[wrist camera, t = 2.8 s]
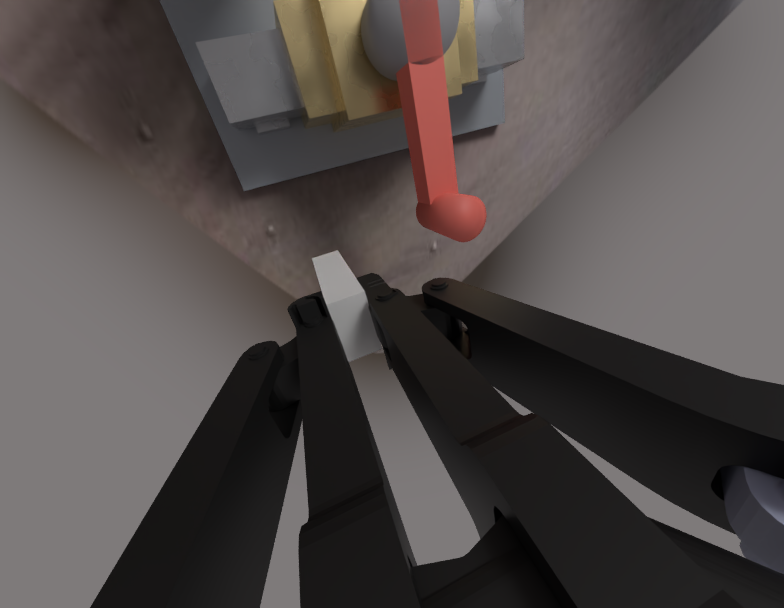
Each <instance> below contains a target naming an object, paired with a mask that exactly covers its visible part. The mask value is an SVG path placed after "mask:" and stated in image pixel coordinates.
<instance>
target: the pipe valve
mask: <svg viewBox="0 0 784 608" xmlns="http://www.w3.org/2000/svg"><path fill="white" fill-rule="evenodd" d="M366 1H367V0H274V1H273V4H274V15H275V26H276V29H271V30H265V31H259V32H254V33H248V34H242V35H236V36H230V37H224V38H218V39H212V40H206V41H200V42H195V43H196V45H197V47H198V50H199V52H200V55H201V57H202V59H203V62H204V64H205V66H206V69H207V71H208V74H209V76H210V78H211V81H212V83H213V85H214V88H215V90H216V92H217V95H218V97H219V100H220V102H221V104H222V107H223V109H224V111H225V114H226V116H227V119H228V121H229V123H230V124H231V125H232V126H233V127H235V128H236V129H237V130H238V131H241V130H245V129H250V128H254V127H256V129H257V131H258V133H259V135H263V134H267V133H271V132H276V131H280V130H284V129H289V128H290V123H289V120H290V119H294V118H298V117H301V118H302V121H303V124H304V127H305V129H308V128H313V127H317V126H321V125H325V124H330V123H331V124H332V127H333V131H334V133H335V132H339V131H343V130H348V129H352V128H356V127H360V126H364V125H368V124H372V123H377V122H381V121H385V120H389V119H393V118H397V117H402V116H403V111H402V106H401V100H400V94H399V88H398V82H397V81H394V80H391V79H388V78H386V77H385V76H383V75H382V74H380V73H379V72H378V71H377V70H376V69H375V67H374V66H373V65H372V63H371V62H370V60H369V58H368V56H367V54H366V52H365V49H364V46H363V42H362V36H361V19H362V13H363V9H364V6H365V4H366ZM459 1H460V16H459V23H458V28H457V32H456V35H455V38H454V40H453V42H452V44H451V46H450V47H449V49H448V50H447V51H446V53H445V54H444V55H443V56H444V66H445V75H446V84H447V94H448V100H449V99H451V98H454V97H456V96H458V95H460V94H462V88H466V87H470V86H474V85H478V84H480V83H482V82H484V81H487V78H486V75H489V74H493V73H495V72H497V71H499V70H501V69H503V68H505V67H508V66H510V65H512V64H514V63H516V62H518V61H520V60H522V59H524V0H459Z"/></svg>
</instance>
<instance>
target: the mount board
mask: <svg viewBox="0 0 784 608" xmlns="http://www.w3.org/2000/svg"><path fill="white" fill-rule="evenodd" d="M159 1H160V3H161V5H162V7H163V10H164V12H165V14H166V16H167V19H168V21H169V23H170V25H171V28H172V30H173V32H174V34H175V37H176V39H177V41H178V43H179V46H180V48H181V50H182V52H183V55H184V57H185V59H186V61H187V64H188V66H189V68H190V70H191V73H192V75H193V77H194V79H195V82H196V84H197V86H198V88H199V91H200V93H201V95H202V97H203V100H204V102H205V104H206V106H207V109H208V111H209V113H210V115H211V118H212V120H213V122H214V124H215V127H216V129H217V131H218V133H219V136H220V138H221V140H222V142H223V145H224V147H225V149H226V151H227V154H228V156H229V158H230V160H231V163H232V165H233V167H234V169H235V172H236V174H237V176H238V178H239V181H240V183H241V185H242V187H243V190H244V191H247V190H250V189H254V188H258V187H262V186H266V185H269V184H273V183H277V182H281V181H285V180H288V179H292V178H296V177H300V176H304V175H308V174H311V173H315V172H319V171H323V170H327V169H330V168H334V167H338V166H342V165H346V164H349V163H353V162H357V161H361V160H365V159H368V158H372V157H376V156H380V155H384V154H387V153H391V152H395V151H399V150H403V149H407V148H409V146H408V140H407V135H406V129H405V123H404V117H403V116H402V117H397V118H393V119H389V120H385V121H381V122H377V123H372V124H368V125H364V126H360V127H356V128H352V129H348V130H343V131H339V132H335V133H334V131H333V127H332V124H331V123H330V124H325V125H321V126H317V127H313V128H308V129H305V127H304V124H303V121H302V118H301V117H298V118H294V119H290V120H289V123H290V128H289V129H284V130H280V131H276V132H271V133H267V134H263V135H259V133H258V131H257V129H256V127H254V128H250V129H245V130H241V131H238V130H237V129H236V128H235V127H233V126H232V125H231V124H230V123H229V121H228V119H227V116H226V114H225V111H224V109H223V107H222V104H221V102H220V100H219V97H218V95H217V92H216V90H215V88H214V85H213V83H212V81H211V78H210V76H209V74H208V71H207V69H206V66H205V64H204V62H203V59H202V57H201V55H200V52H199V50H198V47H197V45H196V43H195V42H200V41H206V40H212V39H218V38H224V37H230V36H236V35H242V34H248V33H254V32H259V31H265V30H271V29H276V26H275V15H274V4H273V1H274V0H159ZM486 78H487V81H484V82H482V83H480V84H478V85H474V86H470V87H466V88H462V94H460V95H458V96H456V97H454V98H451V99H449V100H448V103H449V112H450V122H451V131H452V136H456V135H460V134H464V133H467V132H471V131H475V130H479V129H483V128H486V127H490V126H494V125H498V124H502V123H505V112H504V79H503V69H501V70H499V71H497V72H495V73H493V74H489V75H486Z"/></svg>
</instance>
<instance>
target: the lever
mask: <svg viewBox="0 0 784 608" xmlns="http://www.w3.org/2000/svg"><path fill="white" fill-rule="evenodd" d="M459 16H460V1H459V0H367V1H366V4H365V6H364V9H363V13H362V19H361V36H362V42H363V46H364V49H365V52H366V54H367V56H368V58H369V60H370V62H371V63H372V65H373V66H374V67H375V69H376V70H377V71H378V72H379V73H380V74H382V75H383V76H385V77H386V78H388V79H391V80H394V81H397V82H398V88H399V94H400V100H401V106H402V111H403V117H404V123H405V129H406V135H407V140H408V146H409V152H410V158H411V163H412V169H413V175H414V181H415V187H416V192H417V198H418V204H417V207H416V216H417V219H418V221H419V223H420V224H421V225H422V226H423V227H425V228H427V229H430V230H432V231H435V232H437V233H439V234H442V235H444V236H446V237H449V238H451V239H454V240H456V241H459V242H467V241H470V240H472V239H474V238H475V237H477V236H478V235H479V234H480V232H481V231H482V229H483V227H484V225H485V222H486V208H485V205H484V204H483V202H482V201H481V200H480V199H479V198H478V197H475V196H471V195H464V194H458V187H457V178H456V168H455V159H454V150H453V140H452V131H451V122H450V112H449V103H448V94H447V84H446V75H445V66H444V56H443V55H444V54H445V53H446V51H447V50H448V49H449V47H450V46H451V44H452V42H453V40H454V38H455V35H456V32H457V28H458V23H459Z"/></svg>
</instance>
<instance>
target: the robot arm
mask: <svg viewBox="0 0 784 608" xmlns="http://www.w3.org/2000/svg"><path fill="white" fill-rule="evenodd" d="M312 260H313V264H314V267H315V270H316V274H317V277H318V281H319V284H320V287H321V291H320V292H317V293H314V294H311V295H308V296H305V297H302V298H300V299H298V300H296V301H295V302H293V303H292V304H291V305H290V306H289V307H288V312H289V314H290V316H291V319H292V321H293V323H294V325H295V327H296V333H297V336H296V337H295V338H294V339H292V340H291V341H290V342H288V343H286V344H284V345H283V346H281V347H279V345H278V344H277V343H276V342H275V341H266V342H262V343H258V344H255V346H252V347H250V348H249V349H248V350H247V351H246V352H244V353H243V354H242V356H241V357H240V358H239V360H238V362H237V363H236V365H235V367H234V368H233V370H232V372H231V373H230V375H229V377H228V378H227V380H226V382H225V383H224V385H223V387H222V388H221V390H220V392H219V393H218V395H217V397H216V398H215V400H214V402H213V403H212V405H211V407H210V408H209V410H208V412H207V413H206V415H205V417H204V419H203V420H202V422H201V423H200V425H199V427H198V428H197V430H196V432H195V434H194V435H193V437H192V438H191V440H190V442H189V443H188V445H187V447H186V449H185V450H184V452H183V453H182V455H181V457H180V458H179V460H178V462H177V463H176V465H175V467H174V468H173V470H172V472H171V473H170V475H169V477H168V478H167V480H166V482H165V483H164V485H163V487H162V488H161V490H160V492H159V493H158V495H157V497H156V498H155V500H154V502H153V504H152V505H151V507H150V509H149V510H148V512H147V513H146V515H145V517H144V518H143V520H142V522H141V524H140V525H139V527H138V529H137V530H136V532H135V534H134V535H133V537H132V539H131V540H130V542H129V544H128V545H127V547H126V549H125V550H124V552H123V554H122V555H121V557H120V559H119V560H118V562H117V564H116V565H115V567H114V569H113V570H112V572H111V574H110V575H109V577H108V579H107V580H106V582H105V584H104V585H103V587H102V589H101V590H100V592H99V594H98V595H97V597H96V599H95V600H94V602H93V604H92V605H91V607H90V608H260V604H261V599H262V595H263V590H264V586H265V582H266V577H267V572H268V568H269V564H270V560H271V555H272V551H273V546H274V542H275V537H276V533H277V529H278V524H279V520H280V515H281V511H282V506H283V502H284V497H285V493H286V489H287V484H288V480H289V475H290V471H291V467H292V462H293V457H294V453H295V449H296V445H297V440H298V436H299V431H300V427H301V422H302V420H303V435H304V449H305V462H306V463H305V464H306V478H307V492H308V507H309V518H308V522H307V523H306V524H304V525H303V526H302V527H301V530H300V534H299V576H300V577H299V578H300V606H301V608H784V385H781V384H776V383H770V382H765V381H760V380H755V379H750V378H745V377H740V376H737V375H734V374H731V373H728V372H725V371H722V370H719V369H716V368H714V367H711V366H707V365H704V364H702V363H699V362H696V361H693V360H690V359H687V358H684V357H681V356H678V355H675V354H672V353H669V352H666V351H663V350H660V349H657V348H654V347H651V346H648V345H646V344H643V343H640V342H637V341H634V340H631V339H628V338H625V337H622V336H619V335H616V334H613V333H610V332H607V331H604V330H601V329H598V328H595V327H592V326H589V325H586V324H584V323H580V322H578V321H575V320H572V319H568V318H566V317H563V316H560V315H557V314H554V313H551V312H548V311H545V310H542V309H539V308H536V307H533V306H530V305H527V304H524V303H521V302H519V301H516V300H513V299H509V298H506V297H504V296H501V295H498V294H495V293H492V292H489V291H486V290H483V289H480V288H477V287H474V286H471V285H468V284H465V283H462V282H459V281H457V280H454V279H450V278H437V279H436V278H435V279H432V280H431V281H428V282H427V283H425V284H424V285H423V286H422V292H423V294H419V295H413V296H405V295H404V294H403V293H402V292H401V291H400V290H398V289H394V288H390V287H389V286H388V285H387V284H386V282H385V281H384V280H383V279H382V278H381V277H380V276H379V275H377V274H374V273H370V274H367V275H364V276H361V277H358V278H356V277H355V276H354V274H353V273H352V271H351V270H350V268H349V267H348V265H347V264H346V262H345V261H344V259H343V258H342V256H341V255H340V253H339V252H338V250H337V251H333V252H330V253H327V254H324V255H321V256H318V257H315V258H312ZM462 322H463V323H464V324H465V325H466V326H467V328H468V329H466V328H464V327H462ZM380 342H381V343H380ZM381 344H382V346H383V350H384V353H385V356H386V360H387V363H388V366H389V369H393V371H394V373H395V374H396V376H397V378H398V380H399V382H400V384H401V386H402V387H403V389H404V391H405V393H406V395H407V397H408V399H409V401H410V403H411V404H412V406H413V408H414V410H415V412H416V414H417V416H418V417H419V419H420V421H421V423H422V425H423V427H424V429H425V430H426V432H427V434H428V436H429V438H430V440H431V442H432V444H433V445H434V447H435V449H436V451H437V453H438V455H439V457H440V459H441V460H442V462H443V464H444V466H445V468H446V470H447V471H448V473H449V475H450V477H451V479H452V481H453V482H454V485H455V486H456V488H457V490H458V492H459V494H460V496H461V498H462V500H463V501H464V503H465V505H466V507H467V509H468V511H469V513H470V515H471V517H472V519H473V521H474V523H475V526H476V528H477V531H478V533H479V536H480V541H479V542H478V543H477V544H476V545H475V546H474V547H473V548H472V549H471V550H470V552H469V553H467V554H466V555H465V556H463V557H460V558H456V559H451V560H445V561H440V562H435V563H430V564H424V565H419V566H417V563H416V561H415V558H414V555H413V552H412V549H411V546H410V544H409V541H408V538H407V535H406V532H405V529H404V526H403V523H402V520H401V517H400V514H399V511H398V508H397V505H396V502H395V499H394V496H393V493H392V490H391V487H390V484H389V481H388V478H387V475H386V472H385V469H384V466H383V463H382V460H381V457H380V454H379V451H378V448H377V445H376V442H375V439H374V436H373V433H372V430H371V427H370V424H369V421H368V418H367V415H366V412H365V409H364V406H363V403H362V400H361V397H360V394H359V391H358V388H357V385H356V382H355V379H354V376H353V373H352V370H351V368H350V365H349V362H350V361H353V360H355V359H358V358H360V357H363V356H365V355H368V354H370V353H373V352H375V351H378V350H380V349H382V347H381ZM493 387H495V388H496V389H498V390H500V391H501V392H503V393H504V394H506V395H507V396H509V397H510V398H512V399H513V400H515V401H516V402H518V403H519V404H521V405H522V406H524V407H526V408H527V409H528V410H530V411H531V412H533V413H534V414H533V413H531V414H528V415H525V416H523V415H521V414H519V413H518V412H517V411H516V410H515V409H514V408H513V407H512V406H511V405H510V404H509V403H508V402H507V401H506V400H505V399H504V398H503V397H502V396H501V395H500V394H499V393H498V392H497V391H496V390H495V389H494V388H493ZM552 425H553V426H554V427H556V428H557V429H559V430H560V431H562V432H563V433H565V434H567V435H568V436H569V437H571V438H572V439H574V440H575V441H577V442H579V443H580V444H582V445H583V446H584V447H586V448H588V449H589V450H591V451H592V452H594V453H595V454H597V455H598V456H600V457H601V458H603V459H604V460H606V461H607V462H609V463H610V464H612V465H613V466H615V467H616V468H618V469H619V470H621V471H622V472H624V473H626V474H627V475H628V476H630V477H632V478H633V479H635V480H636V481H638V482H639V483H641V484H642V485H644V486H646V487H647V488H649V489H650V490H652V491H654V492H655V493H657V494H659V495H660V496H662V497H663V498H665V499H667V500H668V501H670V502H672V503H673V504H675V505H678V506H679V507H681V508H683V509H685V510H687V511H689V512H690V513H692V514H694V515H696V516H698V517H700V518H702V519H704V520H706V521H707V522H710V523H712V524H714V525H716V526H718V527H721V528H723V529H725V530H727V531H730V532H732V533H734V534H736V535H737V536H738V538H739V539H740V540H741V542H740V548H741V550H742V553H743V555H744V556H745V557H746V558H744V557H742V556H739V555H737V554H734V553H732V552H730V551H727V550H725V549H722V548H720V547H718V546H715V545H713V544H711V543H708V542H706V541H703V540H701V539H699V538H696V537H694V536H692V535H689V534H687V533H684V532H682V531H680V530H677V529H675V528H672V527H670V526H668V525H665V524H663V523H661V522H658V521H656V520H654V519H651V518H649V517H647V516H645V514H644V513H642V512H641V511H640V510H639V509H638V508H637V507H636V506H635V505H634V504H633V503H632V502H631V501H630V500H629V499H628V498H627V497H626V496H625V495H624V494H623V493H622V492H620V491H619V490H618V489H617V488H616V487H615V486H614V485H613V484H612V483H611V482H610V481H609V480H608V479H607V478H605V476H604V475H603V474H602V473H601V472H600V471H599V470H598V469H597V468H595V467H594V466H593V465H592V464H591V463H590V462H589V461H588V460H587V459H586V458H585V457H584V456H583V455H582V454H581V453H580V452H578V450H577V449H576V448H574V446H572V445H571V444H570V443H569V442H568V441H567V440H566V439H565V438H564V437H563V436H562V435H561V434H560V433H559V432H558V431H557V430H556V429H555V428H554V427H553V426H552Z"/></svg>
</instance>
